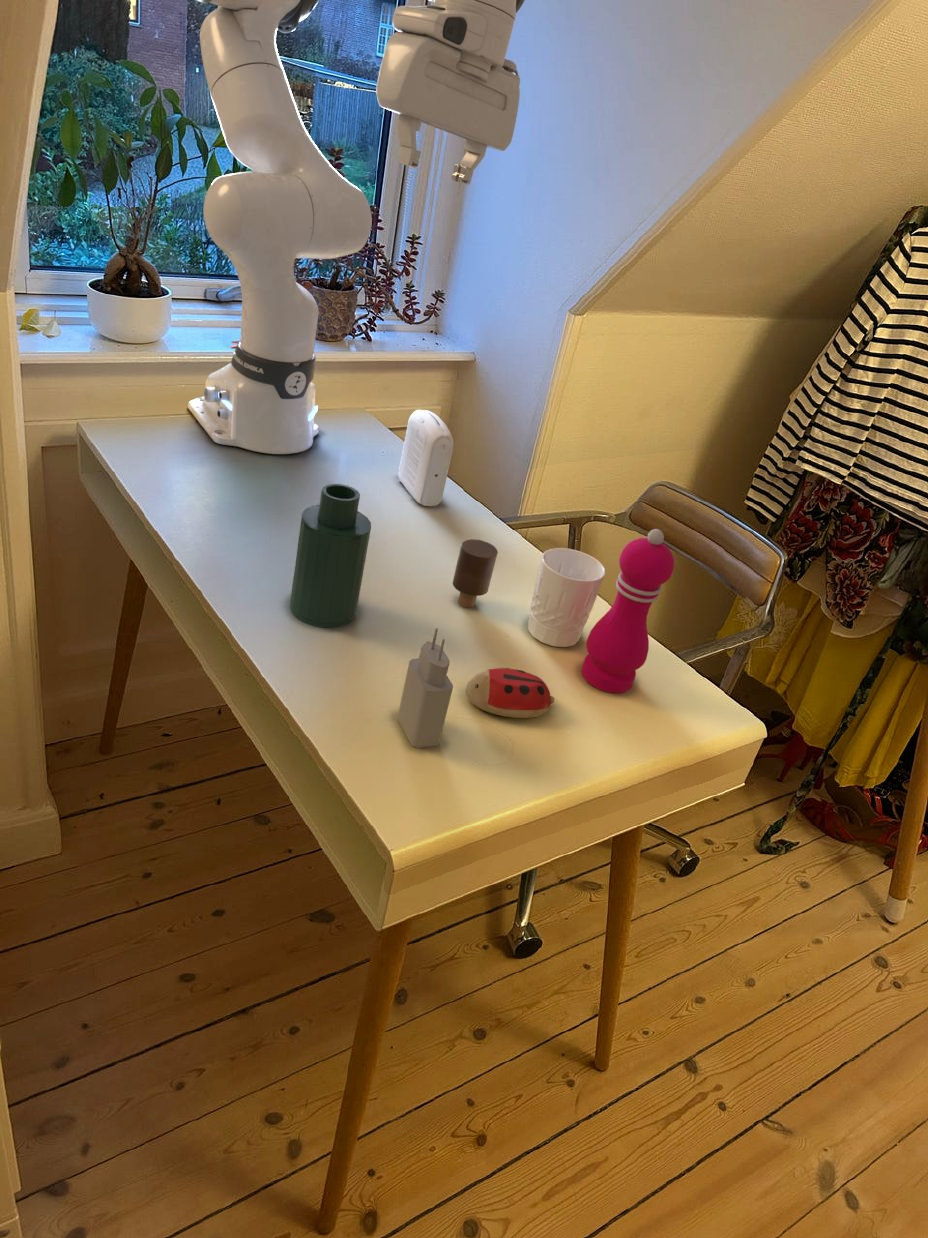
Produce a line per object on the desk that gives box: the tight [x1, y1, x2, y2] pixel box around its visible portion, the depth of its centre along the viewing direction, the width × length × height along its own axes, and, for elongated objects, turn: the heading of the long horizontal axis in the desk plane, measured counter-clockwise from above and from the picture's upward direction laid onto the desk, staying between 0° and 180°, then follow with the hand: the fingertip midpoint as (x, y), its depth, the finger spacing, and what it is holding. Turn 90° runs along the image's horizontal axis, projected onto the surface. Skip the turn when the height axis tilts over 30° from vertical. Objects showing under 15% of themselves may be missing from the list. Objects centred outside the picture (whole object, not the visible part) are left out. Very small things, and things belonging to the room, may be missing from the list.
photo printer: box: [397, 409, 454, 507], centre depth 146 cm, size 10×4×12 cm, turn 25°
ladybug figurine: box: [464, 667, 555, 719], centre depth 106 cm, size 7×10×4 cm
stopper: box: [452, 538, 499, 609], centre depth 121 cm, size 5×5×8 cm
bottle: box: [289, 483, 372, 629], centre depth 111 cm, size 8×8×16 cm
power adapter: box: [397, 627, 454, 749], centre depth 97 cm, size 3×5×12 cm, turn 23°
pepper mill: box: [581, 528, 675, 694], centre depth 110 cm, size 7×7×20 cm
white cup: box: [527, 547, 607, 648], centre depth 119 cm, size 8×8×10 cm
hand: (434, 174), depth 110 cm, fingers open, 8 cm apart
